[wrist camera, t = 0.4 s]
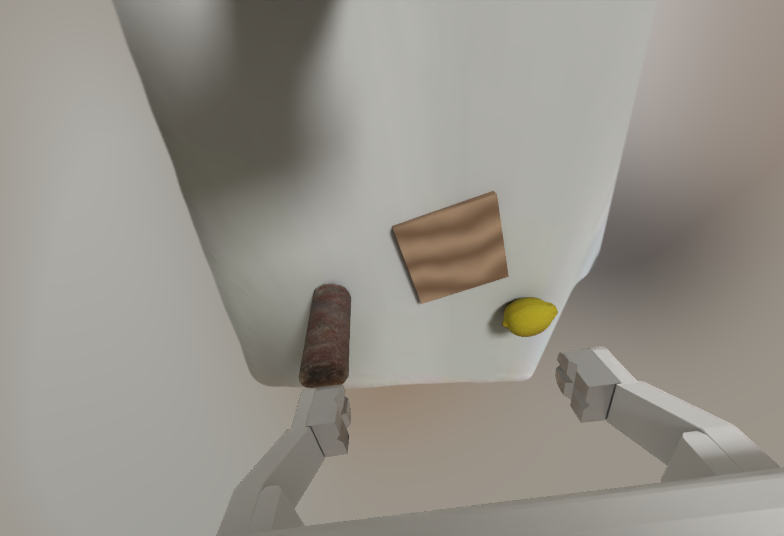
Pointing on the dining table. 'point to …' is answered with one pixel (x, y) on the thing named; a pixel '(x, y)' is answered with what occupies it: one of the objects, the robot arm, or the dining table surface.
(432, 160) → the dining table surface
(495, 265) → the walnut board
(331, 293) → the wooden log
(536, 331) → the lemon
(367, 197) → the dining table surface
